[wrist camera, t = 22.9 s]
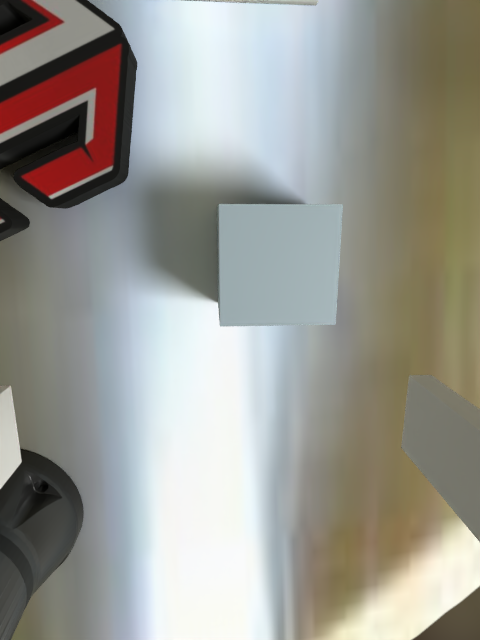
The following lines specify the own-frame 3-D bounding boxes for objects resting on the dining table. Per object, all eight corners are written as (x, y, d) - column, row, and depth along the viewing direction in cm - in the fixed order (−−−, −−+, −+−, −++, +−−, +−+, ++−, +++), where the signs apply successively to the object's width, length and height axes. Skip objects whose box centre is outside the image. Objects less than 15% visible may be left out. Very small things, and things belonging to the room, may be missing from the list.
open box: (218, 302, 40) (219, 326, 31) (217, 207, 38) (218, 203, 29) (308, 301, 40) (335, 324, 32) (312, 208, 38) (342, 204, 29)
